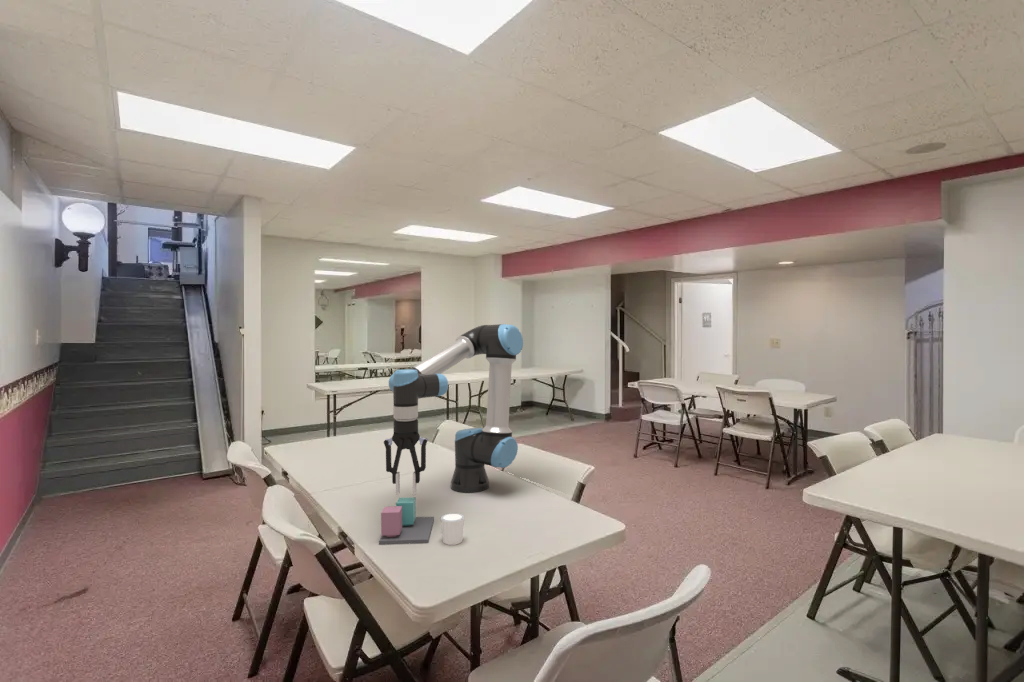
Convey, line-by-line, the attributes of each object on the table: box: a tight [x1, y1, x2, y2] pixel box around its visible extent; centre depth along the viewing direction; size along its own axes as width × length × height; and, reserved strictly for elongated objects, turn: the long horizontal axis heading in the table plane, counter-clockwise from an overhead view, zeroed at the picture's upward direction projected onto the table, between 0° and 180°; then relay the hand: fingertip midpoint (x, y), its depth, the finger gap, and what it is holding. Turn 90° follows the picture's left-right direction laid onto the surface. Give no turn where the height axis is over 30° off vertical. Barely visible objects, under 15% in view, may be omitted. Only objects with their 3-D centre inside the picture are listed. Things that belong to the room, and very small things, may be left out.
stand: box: [378, 505, 435, 546], centre depth 147 cm, size 14×18×9 cm
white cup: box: [440, 512, 465, 546], centre depth 140 cm, size 7×7×7 cm
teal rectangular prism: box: [395, 496, 417, 525], centre depth 149 cm, size 5×5×7 cm
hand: (406, 493), depth 150 cm, fingers open, 4 cm apart
